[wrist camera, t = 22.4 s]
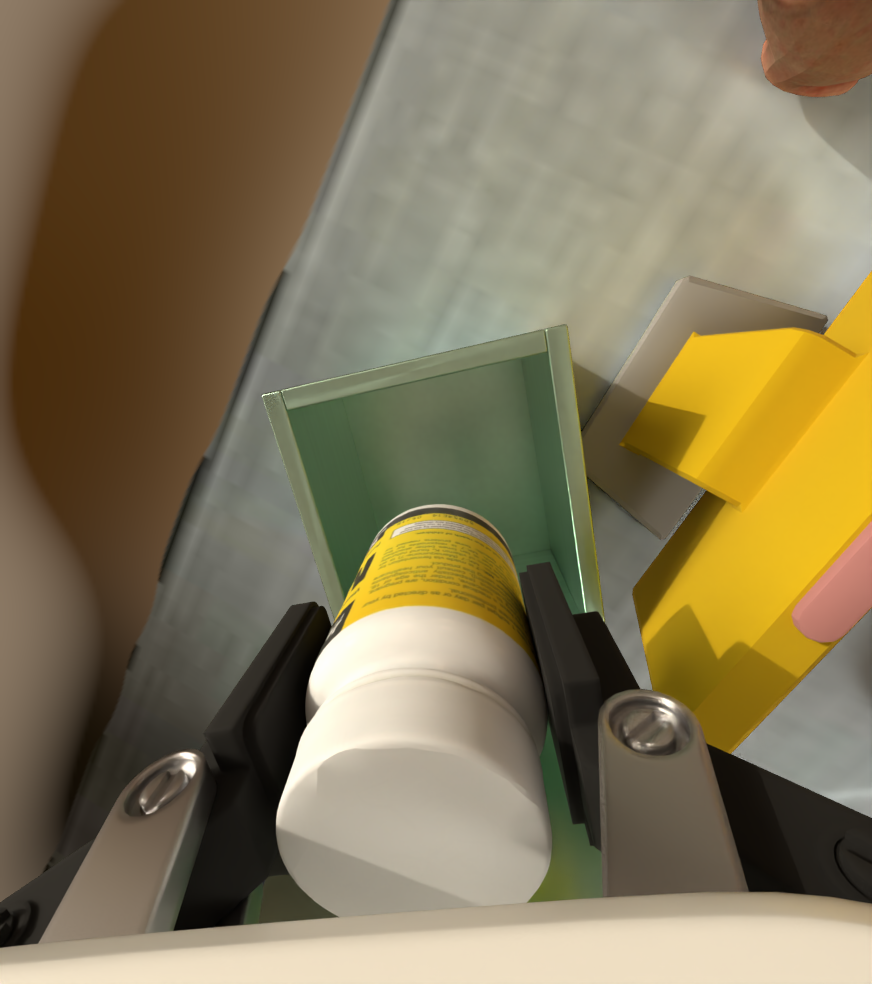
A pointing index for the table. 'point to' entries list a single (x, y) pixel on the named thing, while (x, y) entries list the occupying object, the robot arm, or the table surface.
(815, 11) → the figurine
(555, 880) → the drawer panel with handle
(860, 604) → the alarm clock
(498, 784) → the supplement bottle
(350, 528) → the mint green channel tray
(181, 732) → the table surface
